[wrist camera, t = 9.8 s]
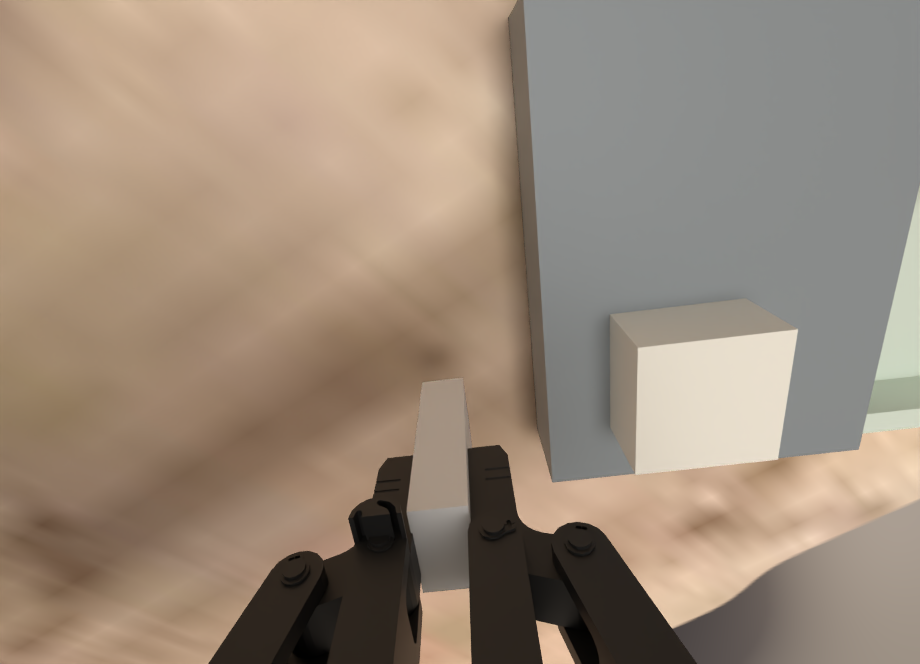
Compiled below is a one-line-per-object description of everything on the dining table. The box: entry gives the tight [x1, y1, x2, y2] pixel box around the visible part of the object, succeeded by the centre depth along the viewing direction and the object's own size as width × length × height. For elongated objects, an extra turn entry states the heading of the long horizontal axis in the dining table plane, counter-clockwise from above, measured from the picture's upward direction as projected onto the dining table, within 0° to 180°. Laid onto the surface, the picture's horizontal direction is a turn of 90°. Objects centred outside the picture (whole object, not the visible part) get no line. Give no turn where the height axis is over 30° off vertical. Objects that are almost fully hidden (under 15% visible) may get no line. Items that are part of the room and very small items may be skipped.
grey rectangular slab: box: [508, 0, 920, 482], centre depth 20 cm, size 13×18×4 cm
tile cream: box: [610, 298, 798, 475], centre depth 18 cm, size 5×5×3 cm
